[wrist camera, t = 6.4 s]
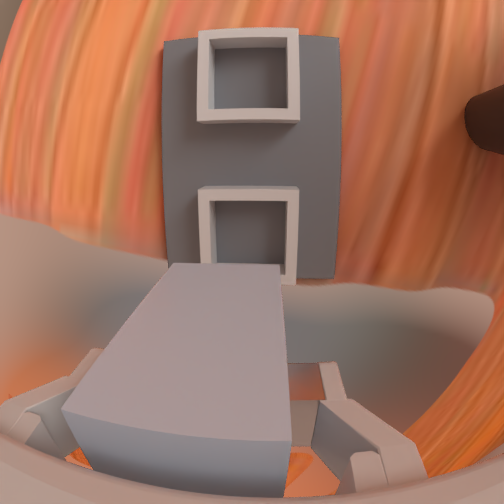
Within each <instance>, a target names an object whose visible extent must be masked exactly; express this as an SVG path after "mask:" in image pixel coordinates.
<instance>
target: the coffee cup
mask: <svg viewBox="0 0 504 504" xmlns="http://www.w3.org/2000/svg"><path fill="white" fill-rule="evenodd" d="M465 124H466V128H467V131H468V133H469V136H470V137H471V139H472V140H473V142H474V143H475V144H476V145H478V146H479V147H480V148H482V149H485V150H488V151H492V152H496V153H499V154H503V155H504V85H502V86H499V87H497V88H494V89H492V90H489V91H487V92H485V93H482V94H480V95H477V96H475V97H473V98H471V99H470V101H469V102H468V103H467V106H466V109H465Z"/></svg>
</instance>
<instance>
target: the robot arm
mask: <svg viewBox="0 0 504 504" xmlns="http://www.w3.org/2000/svg"><path fill="white" fill-rule="evenodd" d="M103 350H104V349H102V348H92V349H91V350H90V351H89V353H88V354H87V355H86V356H85V358H84V359H83V360H82V361H81V362H80V364H79V365H78V366H77V367H76V369H75V370H74V371H73V372H72V374H71V375H70V376H69V377H68V376H63V377H61V378H59V379H56V380H54V381H52V382H49V383H47V384H44V385H42V386H40V387H37V388H35V389H33V390H30V391H28V392H25V393H23V394H20V395H18V396H16V397H13V398H11V399H8V400H6V401H4V403H3V404H2V405H1V406H0V504H504V453H502V454H500V455H498V456H495V457H493V458H490V459H488V460H485V461H482V462H479V463H477V464H474V465H471V466H468V467H465V468H462V469H459V470H456V471H453V472H449V473H446V474H443V475H439V476H436V477H432V478H428V476H427V473H426V470H425V468H424V465H423V463H422V460H421V457H420V455H419V452H418V450H417V447H416V445H415V443H414V442H413V441H411V440H410V439H408V438H407V437H405V436H404V435H403V434H401V433H400V432H398V431H397V430H395V429H394V428H392V427H391V426H390V425H388V424H387V423H385V422H384V421H382V420H381V419H380V418H378V417H377V416H375V415H374V414H372V413H371V412H369V411H368V410H367V409H366V408H364V407H363V406H361V405H360V404H359V403H357V402H356V401H354V400H353V399H347V397H346V393H345V390H344V386H343V383H342V379H341V376H340V372H339V369H338V365H337V363H336V362H335V361H331V362H317V363H287V367H288V382H289V397H290V414H291V432H292V444H291V446H311V448H312V449H313V451H314V452H315V453H316V454H317V455H318V456H319V458H320V459H321V460H322V461H323V462H324V464H325V465H326V466H327V467H328V468H329V469H330V470H331V471H332V473H333V474H334V475H335V476H336V477H337V478H338V479H339V480H340V484H339V487H338V489H337V491H336V494H335V495H327V496H313V497H289V498H262V497H238V496H224V495H213V494H204V493H195V492H188V491H181V490H175V489H169V488H163V487H158V486H153V485H148V484H144V483H139V482H135V481H131V480H126V479H122V478H119V477H115V476H111V475H108V474H104V473H101V472H97V471H94V470H91V469H88V468H85V467H82V466H79V465H76V464H73V463H70V462H67V461H66V459H65V458H64V457H66V456H67V455H69V454H70V453H72V452H73V451H75V450H76V449H78V448H79V447H80V446H79V444H78V443H77V441H76V439H75V437H74V435H73V433H72V431H71V429H70V427H69V426H68V424H67V422H66V420H65V418H64V415H63V413H62V411H61V408H62V406H63V405H64V403H65V402H66V401H67V399H68V398H69V396H70V395H71V394H72V392H73V391H74V390H75V388H76V387H77V385H78V384H79V383H80V381H81V380H82V379H83V377H84V376H85V374H86V373H87V372H88V370H89V369H90V368H91V366H92V365H93V364H94V362H95V361H96V360H97V358H98V357H99V356H100V354H101V353H102V352H103Z"/></svg>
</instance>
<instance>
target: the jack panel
mask: <svg viewBox="0 0 504 504" xmlns="http://www.w3.org/2000/svg"><path fill="white" fill-rule="evenodd" d="M162 170H163V196H164V215H165V230H166V244H167V257H168V268H169V267H170V266H171V265H172V264H173V263H207V264H266V265H280V276H281V285H296V278H309V279H334V274H335V263H336V251H337V237H338V222H339V204H340V180H341V71H340V49H339V38H334V37H323V36H310V35H299V34H298V28H230V29H214V30H203V31H199V32H198V37H197V38H187V39H179V40H171V41H164V52H163V76H162Z"/></svg>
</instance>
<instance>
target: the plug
mask: <svg viewBox="0 0 504 504" xmlns="http://www.w3.org/2000/svg"><path fill="white" fill-rule="evenodd" d="M61 411H62V413H63V415H64V418H65V420H66V422H67V424H68V426H69V427H70V429H71V431H72V433H73V435H74V437H75V439H76V441H77V443H78V444H79V446H80V448H81V450H82V451H83V453H84V455H85V457H86V458H87V460H88V462H89V463H90V465H91V467H92V468H93V470H94V471H97V472H101V473H104V474H108V475H111V476H115V477H119V478H122V479H126V480H131V481H135V482H139V483H144V484H148V485H153V486H158V487H163V488H169V489H175V490H181V491H188V492H195V493H204V494H213V495H224V496H238V497H262V498H283V496H284V490H285V484H286V478H287V472H288V465H289V458H290V451H291V444H292V432H291V414H290V397H289V382H288V367H287V353H286V340H285V326H284V313H283V300H282V289H281V276H280V265H266V264H207V263H173V264H172V265H171V266H170V267H169V269H168V270H167V271H166V272H165V274H164V275H163V276H162V277H161V278H160V280H159V281H158V282H157V283H156V284H155V286H154V287H153V288H152V289H151V291H150V292H149V293H148V294H147V296H146V297H145V298H144V299H143V301H142V302H141V303H140V304H139V306H138V307H137V308H136V309H135V311H134V312H133V313H132V314H131V316H130V317H129V318H128V319H127V321H126V322H125V323H124V325H123V326H122V327H121V328H120V330H119V331H118V332H117V334H116V335H115V336H114V337H113V339H112V340H111V341H110V343H109V344H108V345H107V347H106V348H105V349H104V350H103V352H102V353H101V354H100V356H99V357H98V358H97V360H96V361H95V362H94V364H93V365H92V366H91V368H90V369H89V370H88V372H87V373H86V374H85V376H84V377H83V379H82V380H81V381H80V383H79V384H78V385H77V387H76V388H75V390H74V391H73V392H72V394H71V395H70V396H69V398H68V399H67V401H66V402H65V403H64V405H63V406H62V408H61Z"/></svg>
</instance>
